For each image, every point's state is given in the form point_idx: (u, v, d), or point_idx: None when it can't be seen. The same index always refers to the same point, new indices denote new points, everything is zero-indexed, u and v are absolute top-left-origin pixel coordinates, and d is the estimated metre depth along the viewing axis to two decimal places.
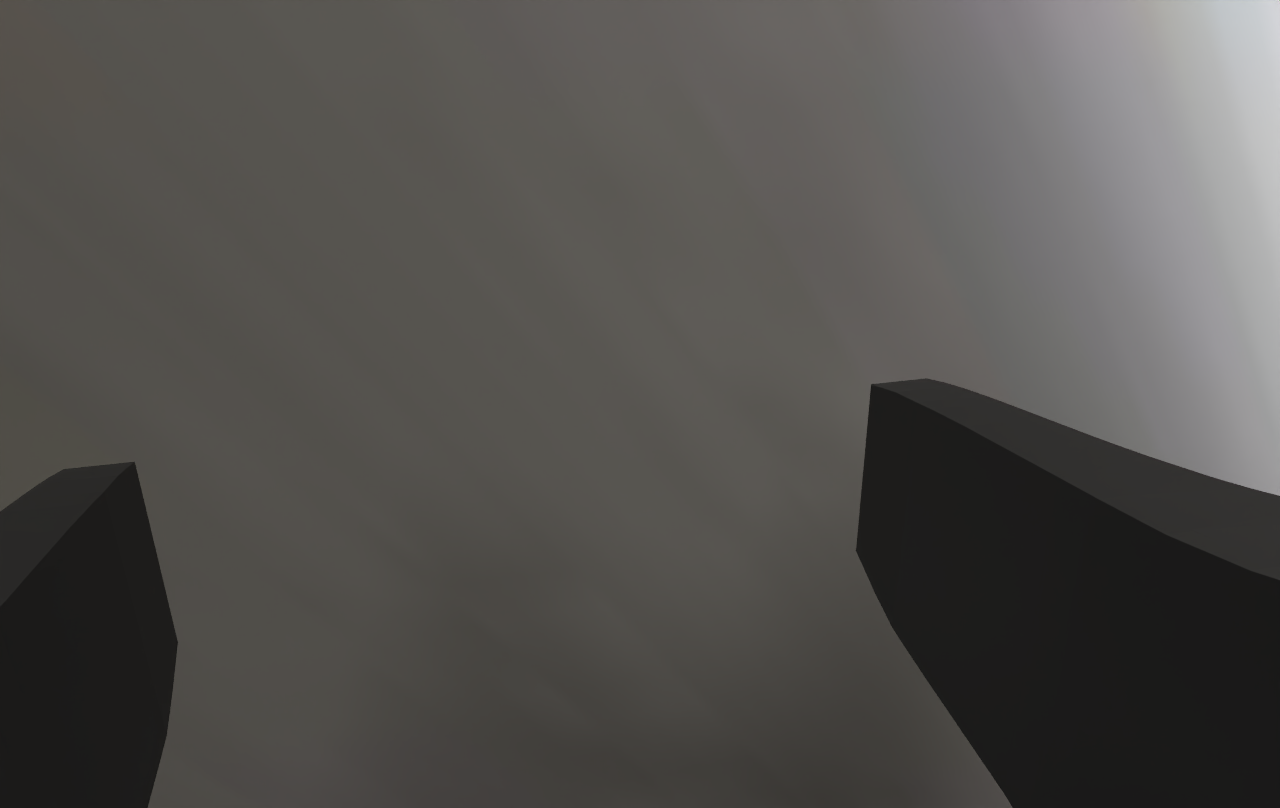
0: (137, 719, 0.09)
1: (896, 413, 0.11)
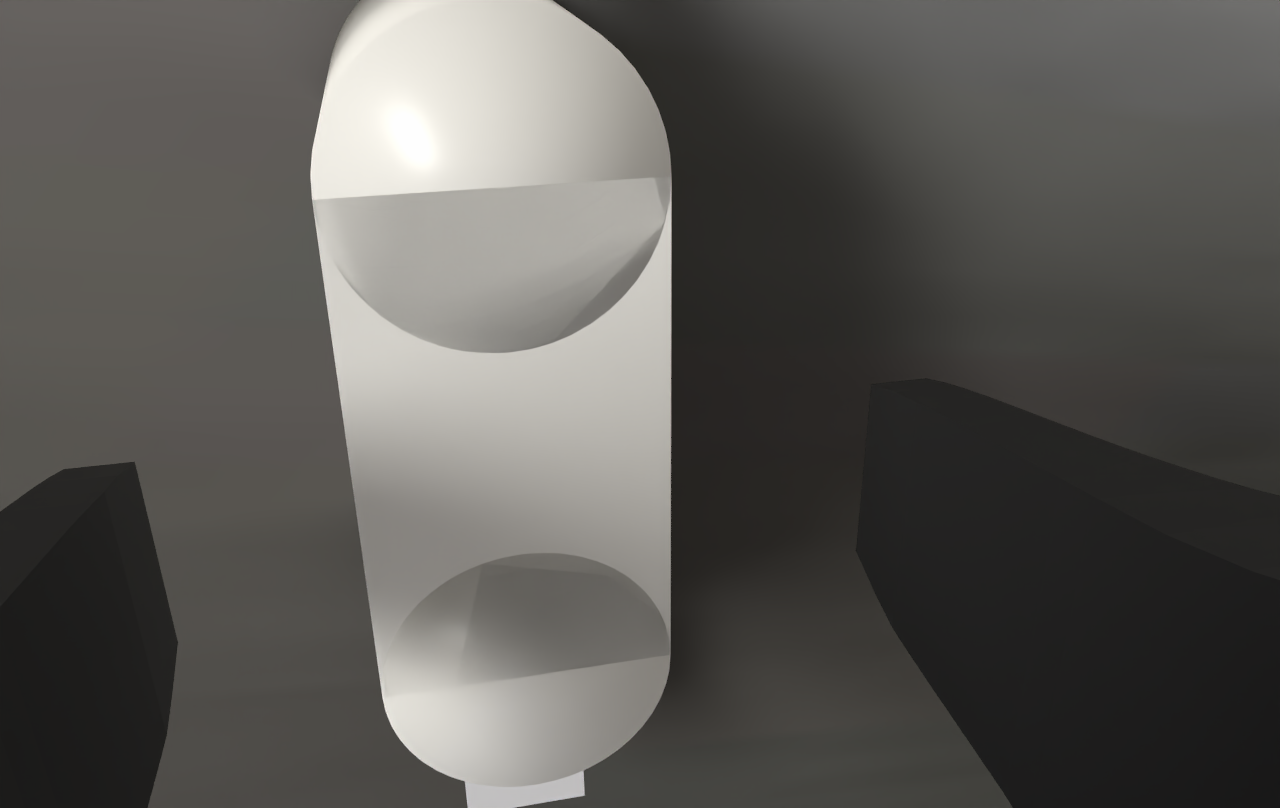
0: (137, 719, 0.09)
1: (896, 412, 0.11)
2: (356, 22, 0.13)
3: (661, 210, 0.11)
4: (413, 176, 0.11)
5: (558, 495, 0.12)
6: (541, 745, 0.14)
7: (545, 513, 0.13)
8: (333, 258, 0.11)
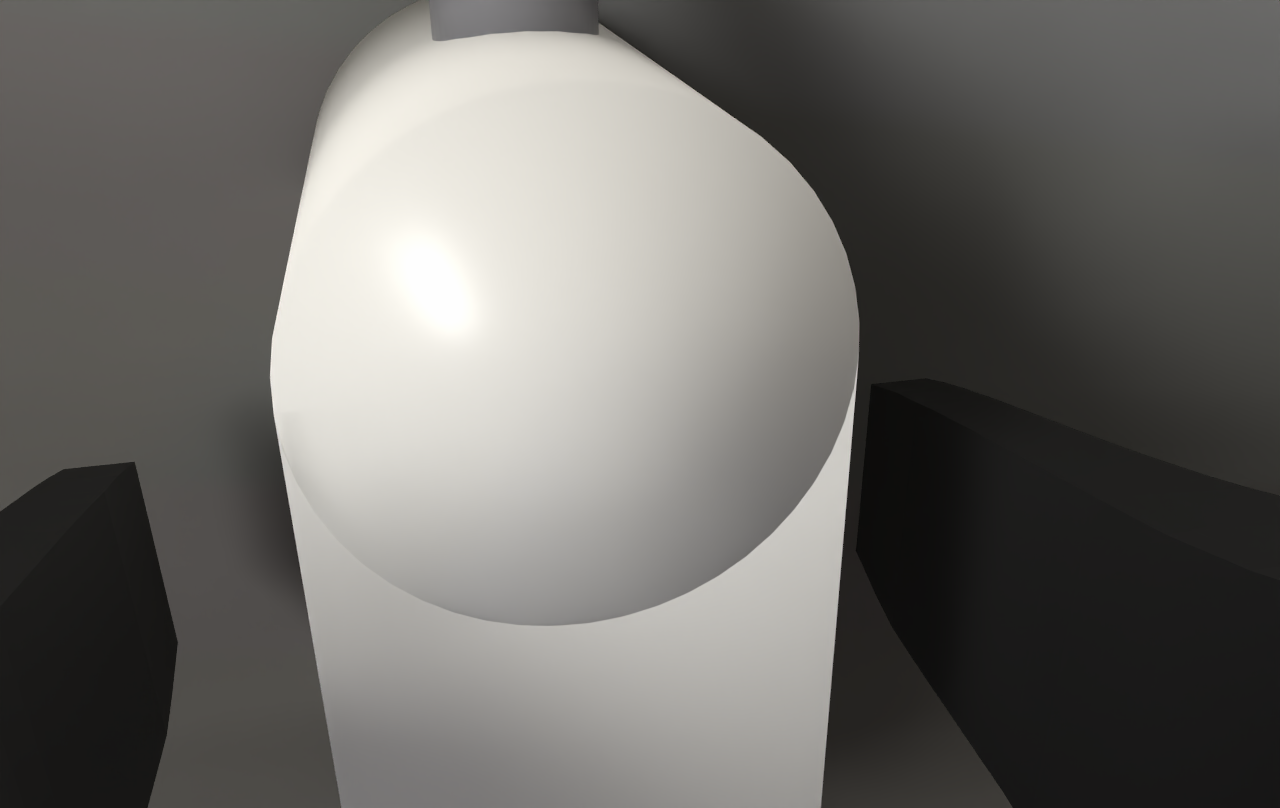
0: (137, 719, 0.09)
1: (896, 413, 0.11)
2: (350, 90, 0.08)
3: (839, 406, 0.07)
4: (443, 371, 0.06)
5: None
6: None
7: None
8: (310, 501, 0.07)
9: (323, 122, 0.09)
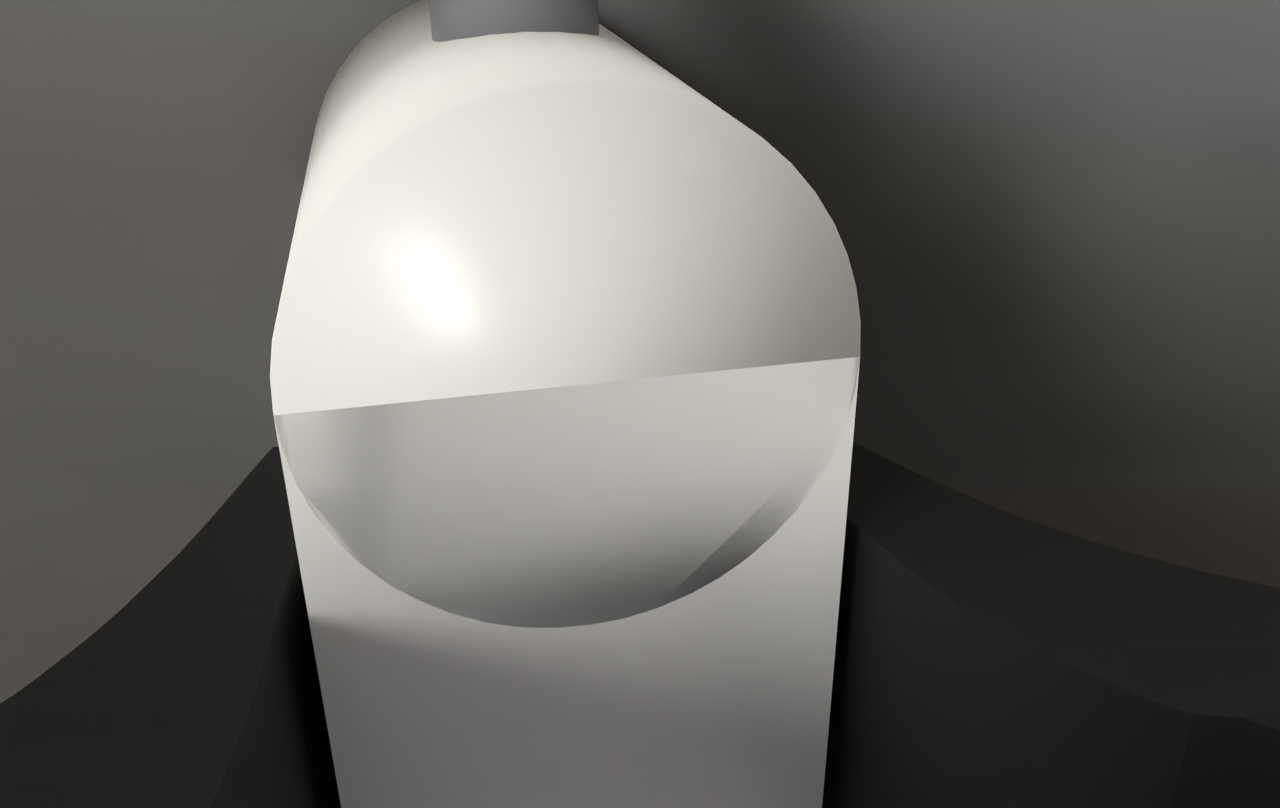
0: None
1: None
2: (350, 90, 0.08)
3: (840, 408, 0.07)
4: (444, 372, 0.06)
5: None
6: None
7: None
8: (310, 502, 0.07)
9: (323, 123, 0.09)
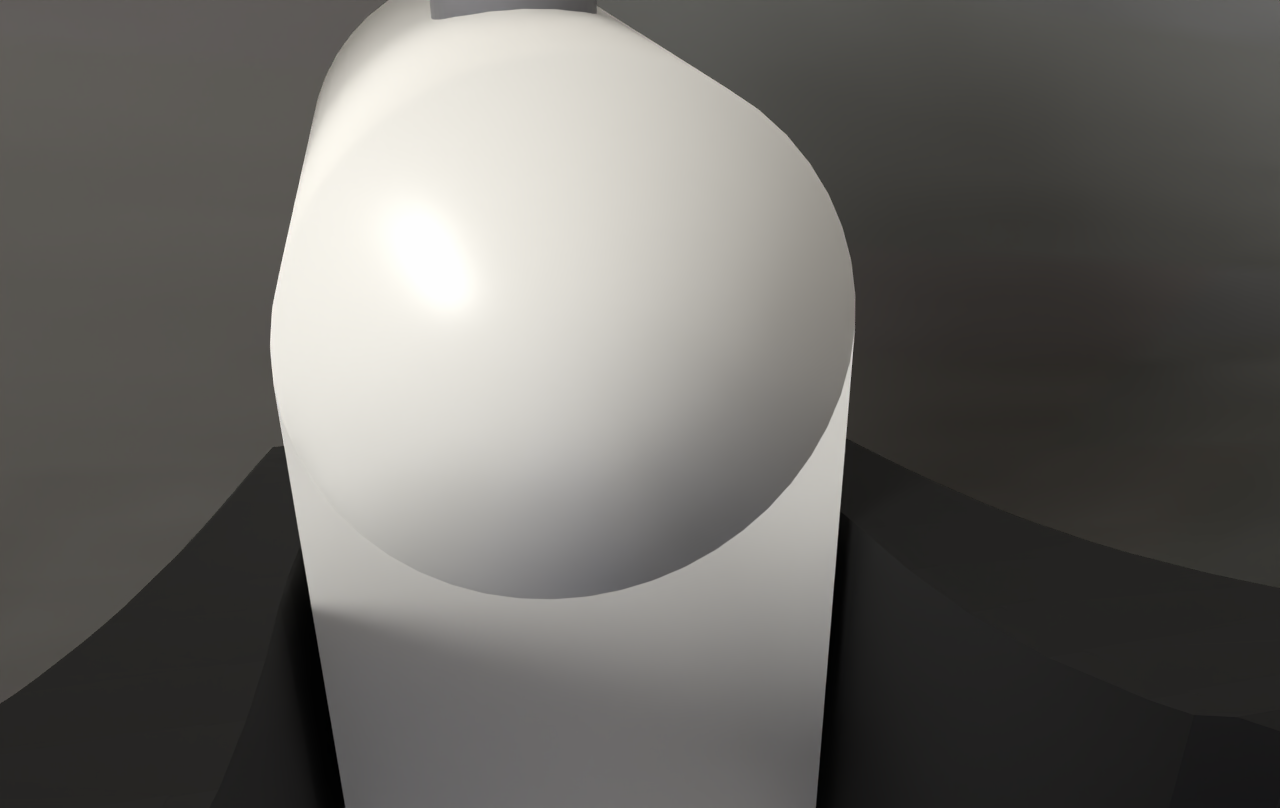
0: None
1: None
2: (349, 69, 0.08)
3: (835, 380, 0.07)
4: (442, 342, 0.06)
5: (654, 786, 0.08)
6: None
7: None
8: (310, 472, 0.07)
9: (323, 102, 0.09)
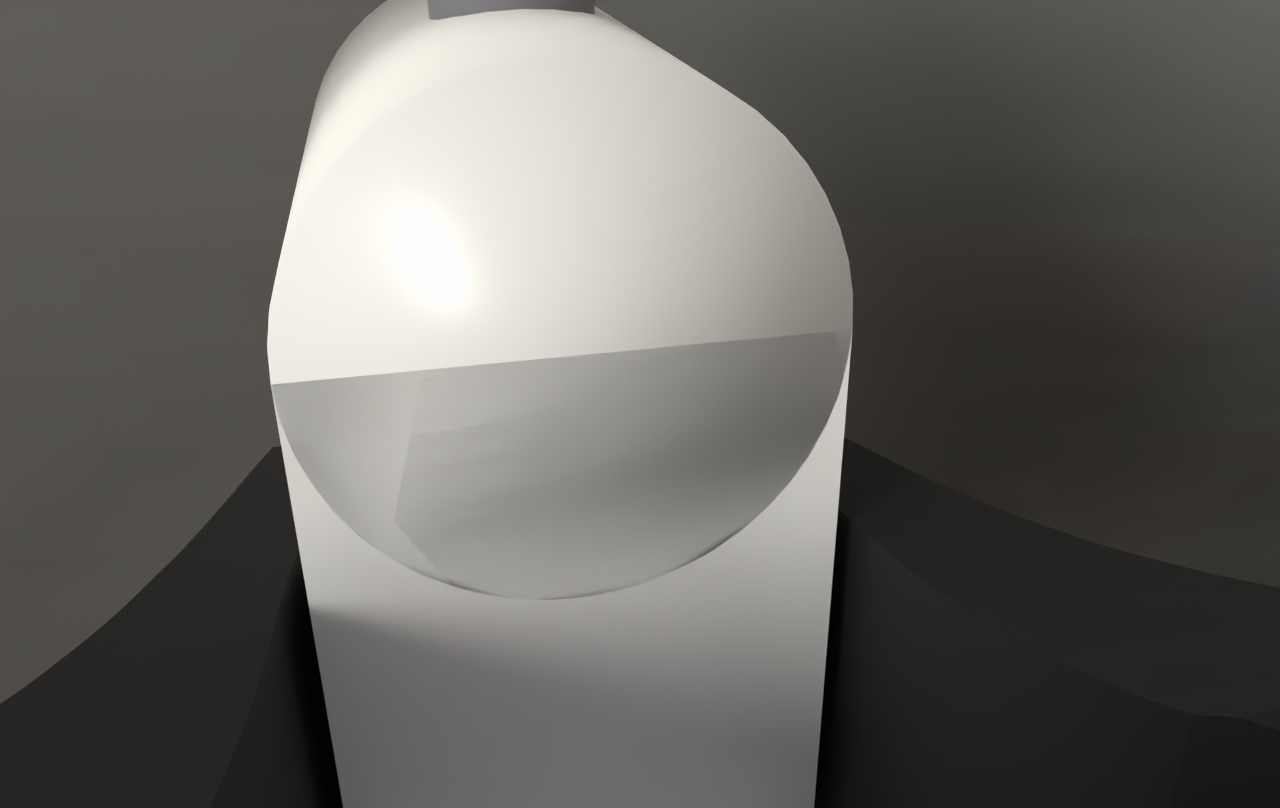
0: None
1: None
2: (347, 69, 0.08)
3: (833, 380, 0.07)
4: (439, 342, 0.06)
5: (652, 786, 0.08)
6: None
7: None
8: (307, 472, 0.07)
9: (321, 103, 0.09)
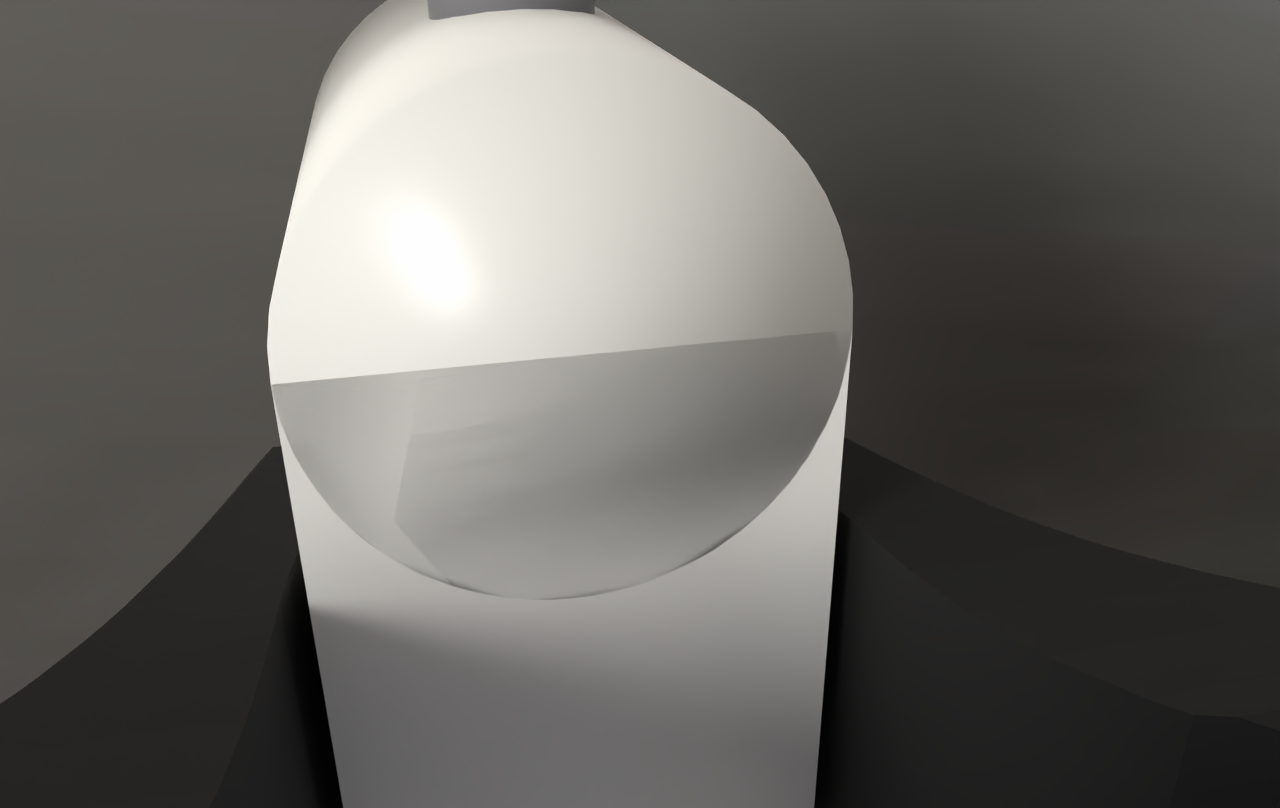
0: None
1: None
2: (347, 69, 0.08)
3: (833, 380, 0.07)
4: (439, 342, 0.06)
5: (652, 786, 0.08)
6: None
7: None
8: (307, 472, 0.07)
9: (321, 103, 0.09)
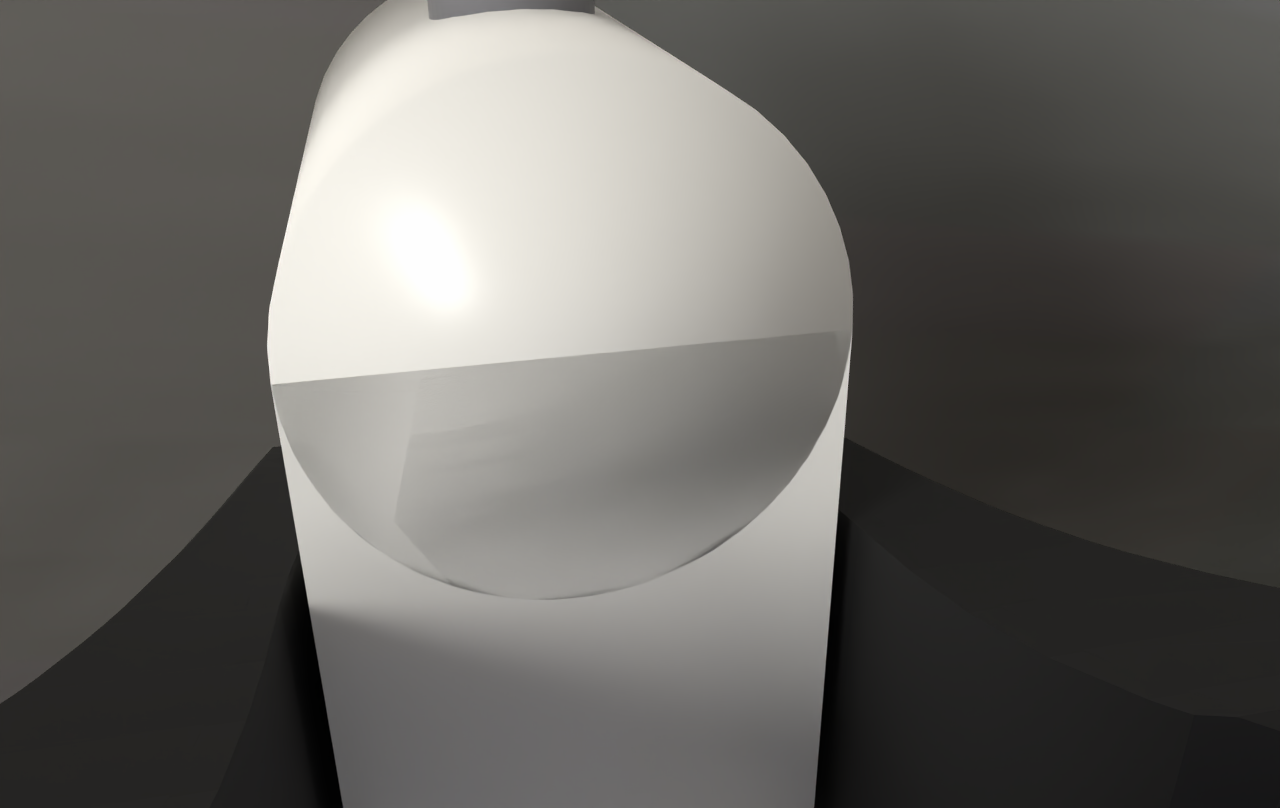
0: None
1: None
2: (347, 69, 0.08)
3: (833, 380, 0.07)
4: (439, 342, 0.06)
5: (652, 786, 0.08)
6: None
7: None
8: (307, 472, 0.07)
9: (321, 103, 0.09)
